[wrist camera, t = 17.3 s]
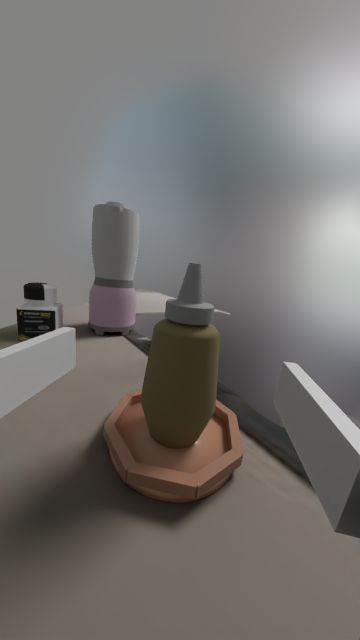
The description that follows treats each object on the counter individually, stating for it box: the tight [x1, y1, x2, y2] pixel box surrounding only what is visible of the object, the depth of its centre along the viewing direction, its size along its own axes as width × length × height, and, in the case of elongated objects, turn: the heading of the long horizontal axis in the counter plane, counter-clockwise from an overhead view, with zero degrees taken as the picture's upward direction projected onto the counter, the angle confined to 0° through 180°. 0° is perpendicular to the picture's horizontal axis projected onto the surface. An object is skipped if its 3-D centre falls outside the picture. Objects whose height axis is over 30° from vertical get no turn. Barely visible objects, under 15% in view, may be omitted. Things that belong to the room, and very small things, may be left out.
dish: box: [103, 389, 243, 503], centre depth 23 cm, size 14×14×2 cm
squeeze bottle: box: [140, 263, 220, 449], centre depth 21 cm, size 8×8×18 cm
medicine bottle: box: [17, 283, 63, 340], centre depth 47 cm, size 7×7×12 cm
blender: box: [89, 202, 139, 336], centre depth 56 cm, size 16×12×32 cm
